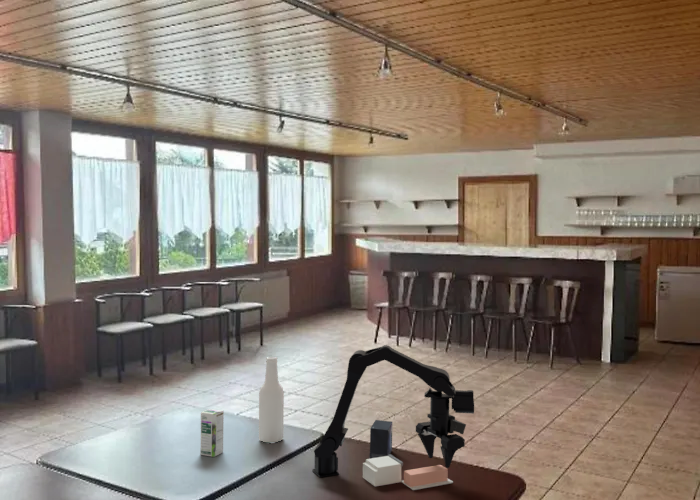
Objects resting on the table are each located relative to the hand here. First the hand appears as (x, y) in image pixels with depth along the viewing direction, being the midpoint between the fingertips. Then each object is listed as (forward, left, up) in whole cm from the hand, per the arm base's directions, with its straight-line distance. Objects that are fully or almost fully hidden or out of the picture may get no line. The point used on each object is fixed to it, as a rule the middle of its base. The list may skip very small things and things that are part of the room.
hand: (439, 462), depth 201 cm
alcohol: (-34, +58, -6) cm, 67 cm away
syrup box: (-57, +52, -6) cm, 77 cm away
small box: (-5, +28, -6) cm, 29 cm away
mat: (-4, 0, -6) cm, 7 cm away
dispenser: (-15, +8, -6) cm, 18 cm away
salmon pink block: (-5, 0, -5) cm, 7 cm away
